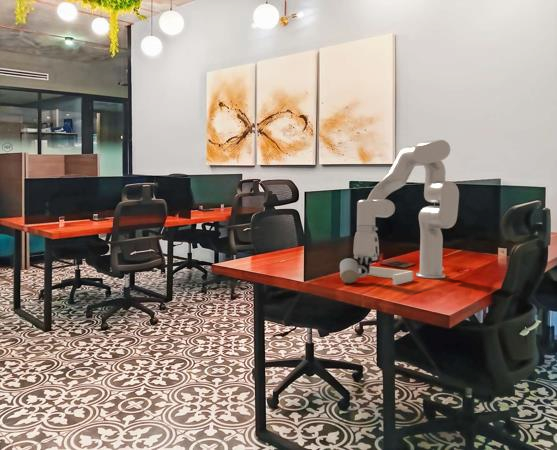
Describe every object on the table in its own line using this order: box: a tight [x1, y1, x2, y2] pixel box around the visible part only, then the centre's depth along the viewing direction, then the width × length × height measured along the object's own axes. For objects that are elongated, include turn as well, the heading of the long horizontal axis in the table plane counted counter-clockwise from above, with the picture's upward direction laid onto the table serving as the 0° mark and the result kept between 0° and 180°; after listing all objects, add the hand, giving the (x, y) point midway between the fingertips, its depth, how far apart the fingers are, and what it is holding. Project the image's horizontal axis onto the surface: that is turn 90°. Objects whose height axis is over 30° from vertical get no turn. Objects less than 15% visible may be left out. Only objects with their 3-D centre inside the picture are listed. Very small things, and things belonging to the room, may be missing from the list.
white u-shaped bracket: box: [358, 266, 414, 286], centre depth 219 cm, size 16×26×4 cm, turn 49°
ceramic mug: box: [339, 257, 367, 284], centre depth 208 cm, size 11×8×8 cm
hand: (365, 273), depth 212 cm, fingers closed
